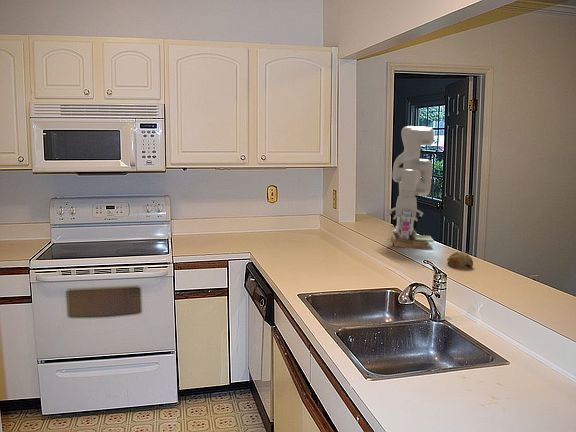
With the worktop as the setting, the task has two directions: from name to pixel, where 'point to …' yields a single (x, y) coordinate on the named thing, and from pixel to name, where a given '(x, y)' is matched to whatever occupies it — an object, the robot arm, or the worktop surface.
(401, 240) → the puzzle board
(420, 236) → the lid
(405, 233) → the candy bar box
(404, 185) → the robot arm
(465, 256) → the bread roll
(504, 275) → the worktop surface
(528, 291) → the worktop surface
